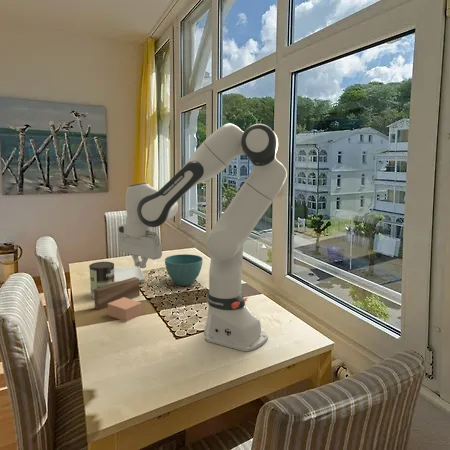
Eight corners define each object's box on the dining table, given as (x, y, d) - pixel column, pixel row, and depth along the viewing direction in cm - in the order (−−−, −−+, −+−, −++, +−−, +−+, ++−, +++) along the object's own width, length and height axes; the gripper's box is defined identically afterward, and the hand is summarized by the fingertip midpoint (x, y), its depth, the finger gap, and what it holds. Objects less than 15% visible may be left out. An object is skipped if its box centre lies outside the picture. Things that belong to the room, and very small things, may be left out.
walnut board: (139, 295, 158) (139, 278, 156) (99, 309, 142) (98, 290, 141) (135, 294, 160) (134, 277, 158) (94, 307, 144) (93, 289, 143)
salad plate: (146, 284, 173) (146, 278, 173) (99, 289, 165) (99, 282, 165) (139, 272, 193) (139, 266, 192) (97, 276, 185) (97, 269, 184)
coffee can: (119, 292, 162) (118, 262, 159) (107, 300, 152) (106, 268, 149) (98, 290, 164) (97, 260, 161) (85, 298, 154) (84, 267, 151)
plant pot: (158, 286, 170) (157, 261, 168) (175, 275, 187) (175, 252, 185) (193, 291, 164) (193, 265, 162) (207, 279, 181) (208, 256, 179)
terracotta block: (142, 314, 139) (141, 302, 138) (126, 322, 133) (125, 309, 132) (124, 308, 144) (123, 297, 144) (108, 315, 138) (107, 303, 137)
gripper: (166, 231, 122) (166, 270, 125) (129, 224, 135) (130, 260, 137) (151, 234, 117) (152, 274, 120) (114, 226, 130) (116, 263, 132)
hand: (140, 267), depth 129 cm, fingers closed
